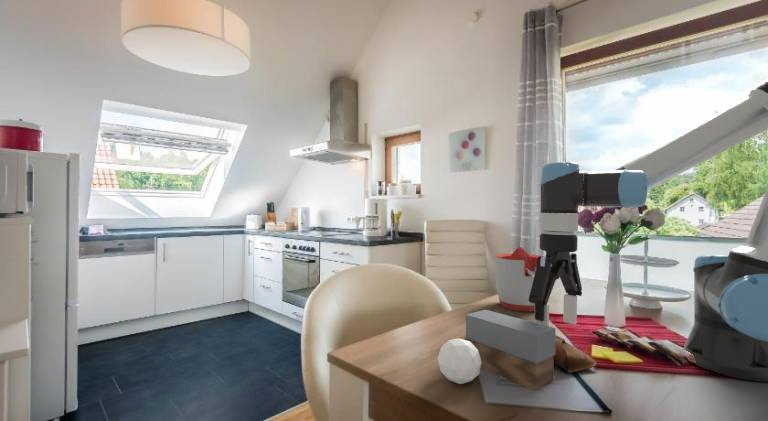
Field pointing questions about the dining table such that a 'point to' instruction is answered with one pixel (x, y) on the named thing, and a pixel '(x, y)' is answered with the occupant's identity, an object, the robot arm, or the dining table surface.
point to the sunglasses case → (571, 357)
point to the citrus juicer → (515, 279)
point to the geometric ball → (459, 361)
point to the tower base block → (515, 367)
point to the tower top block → (511, 335)
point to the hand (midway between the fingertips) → (556, 329)
